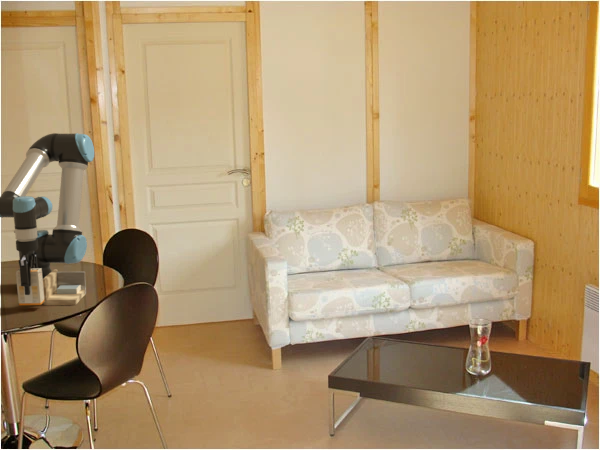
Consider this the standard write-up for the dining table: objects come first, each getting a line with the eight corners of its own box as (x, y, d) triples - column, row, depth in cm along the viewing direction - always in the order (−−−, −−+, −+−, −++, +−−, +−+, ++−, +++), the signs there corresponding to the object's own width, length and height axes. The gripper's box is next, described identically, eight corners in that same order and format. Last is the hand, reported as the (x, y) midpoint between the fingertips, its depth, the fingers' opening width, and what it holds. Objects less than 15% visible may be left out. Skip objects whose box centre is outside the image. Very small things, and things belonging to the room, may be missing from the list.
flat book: (61, 289, 278) (61, 284, 278) (81, 289, 279) (80, 284, 278) (56, 294, 272) (56, 288, 272) (77, 293, 273) (76, 288, 272)
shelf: (55, 293, 280) (54, 269, 278) (86, 293, 281) (84, 269, 279) (43, 305, 264) (41, 279, 263) (75, 304, 265) (74, 279, 263)
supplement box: (45, 301, 262) (42, 267, 259) (40, 305, 257) (38, 271, 255) (22, 301, 262) (20, 267, 259) (18, 305, 257) (15, 271, 254)
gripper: (24, 233, 263) (29, 293, 268) (7, 244, 246) (12, 308, 250) (44, 233, 264) (48, 292, 268) (29, 244, 246) (34, 307, 251)
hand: (31, 300), depth 259 cm, fingers closed on supplement box, 5 cm apart
